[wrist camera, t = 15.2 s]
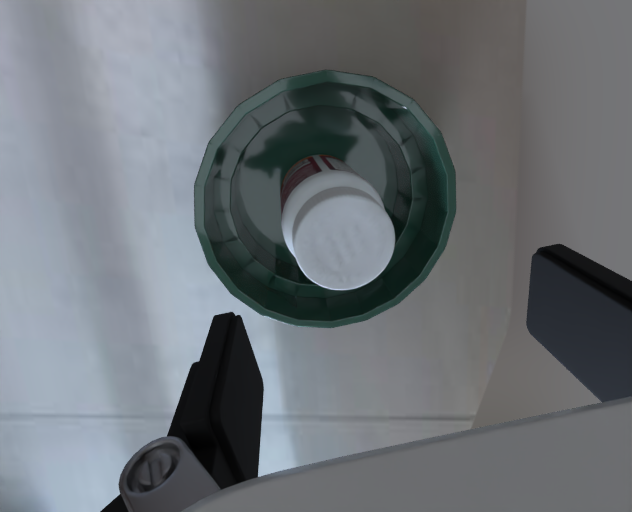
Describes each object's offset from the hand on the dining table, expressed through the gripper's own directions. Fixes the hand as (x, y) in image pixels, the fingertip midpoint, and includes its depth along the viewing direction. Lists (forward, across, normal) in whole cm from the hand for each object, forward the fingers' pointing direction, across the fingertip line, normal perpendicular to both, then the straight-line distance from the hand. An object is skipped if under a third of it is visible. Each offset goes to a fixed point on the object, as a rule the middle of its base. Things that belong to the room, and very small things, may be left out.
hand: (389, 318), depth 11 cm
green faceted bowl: (+18, +1, 0) cm, 18 cm away
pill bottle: (+18, +1, 0) cm, 18 cm away
